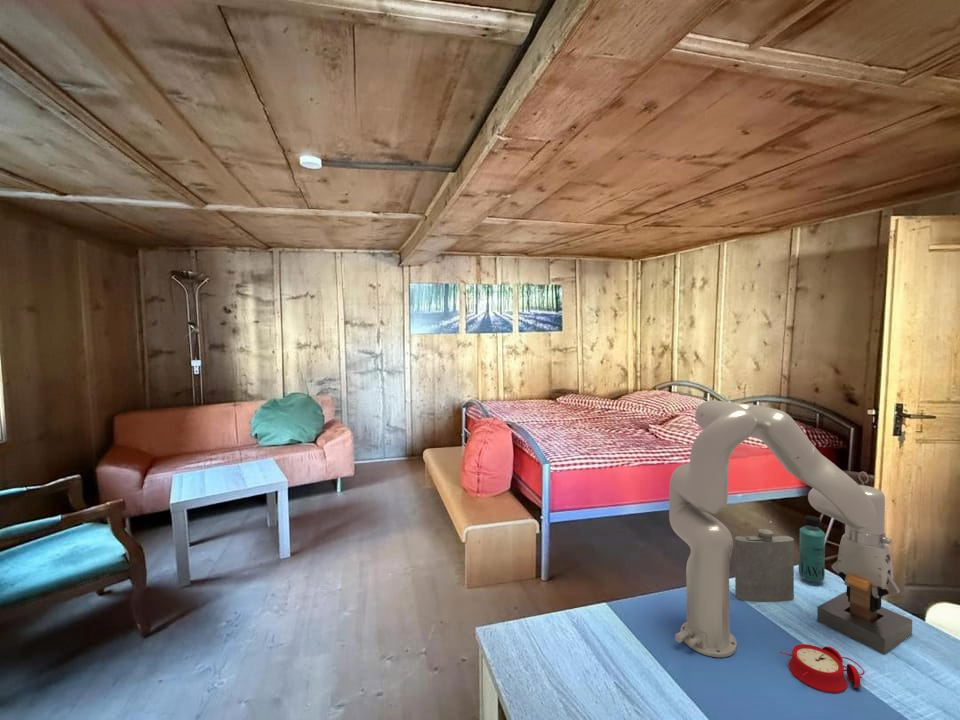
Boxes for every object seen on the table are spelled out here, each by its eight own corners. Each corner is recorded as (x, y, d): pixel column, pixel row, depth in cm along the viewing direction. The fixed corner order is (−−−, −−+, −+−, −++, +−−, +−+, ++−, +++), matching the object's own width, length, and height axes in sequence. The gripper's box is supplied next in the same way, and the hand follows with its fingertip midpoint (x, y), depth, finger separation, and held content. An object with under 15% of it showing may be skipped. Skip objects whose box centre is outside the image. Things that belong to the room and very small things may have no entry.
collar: (884, 654, 104) (884, 638, 104) (817, 621, 116) (817, 606, 116) (912, 635, 110) (912, 619, 110) (845, 605, 123) (845, 591, 122)
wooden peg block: (865, 630, 110) (866, 583, 109) (846, 620, 113) (847, 575, 113) (879, 621, 113) (880, 575, 112) (860, 612, 116) (861, 568, 116)
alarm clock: (773, 644, 104) (835, 628, 104) (779, 669, 104) (841, 653, 104) (805, 678, 93) (875, 661, 93) (811, 706, 94) (881, 689, 93)
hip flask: (789, 593, 129) (789, 527, 128) (798, 602, 125) (798, 533, 124) (733, 594, 130) (732, 527, 128) (740, 602, 125) (740, 534, 124)
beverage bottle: (793, 578, 137) (793, 514, 136) (808, 573, 139) (809, 511, 138) (814, 589, 131) (815, 523, 129) (830, 584, 132) (831, 519, 131)
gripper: (914, 545, 106) (913, 619, 107) (834, 520, 121) (833, 585, 122) (899, 553, 103) (898, 629, 104) (818, 526, 118) (818, 593, 119)
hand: (863, 604), depth 113 cm, fingers closed on wooden peg block, 3 cm apart
